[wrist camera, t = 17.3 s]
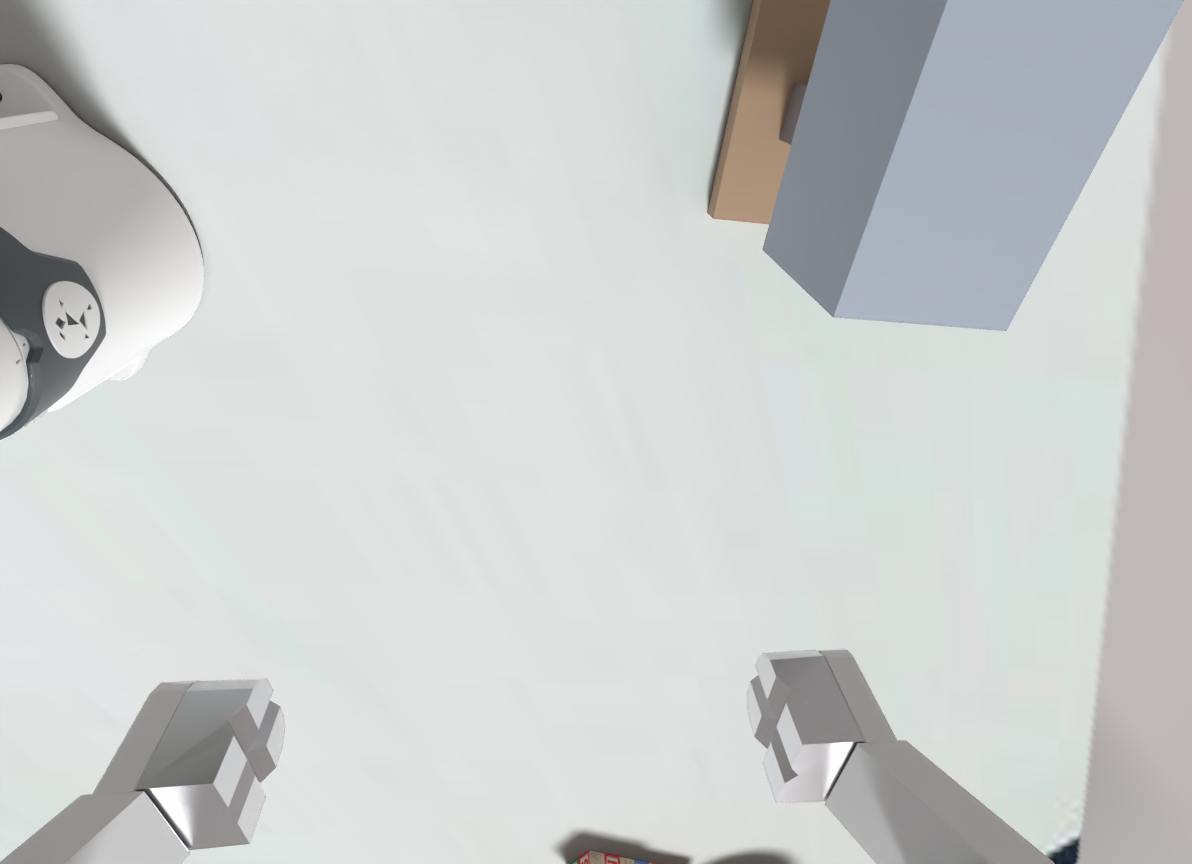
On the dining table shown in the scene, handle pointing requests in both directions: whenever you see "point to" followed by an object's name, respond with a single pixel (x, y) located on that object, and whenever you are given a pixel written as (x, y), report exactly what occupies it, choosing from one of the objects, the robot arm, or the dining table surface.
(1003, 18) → the mounted unit
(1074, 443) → the dining table surface
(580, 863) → the stack of blocks
